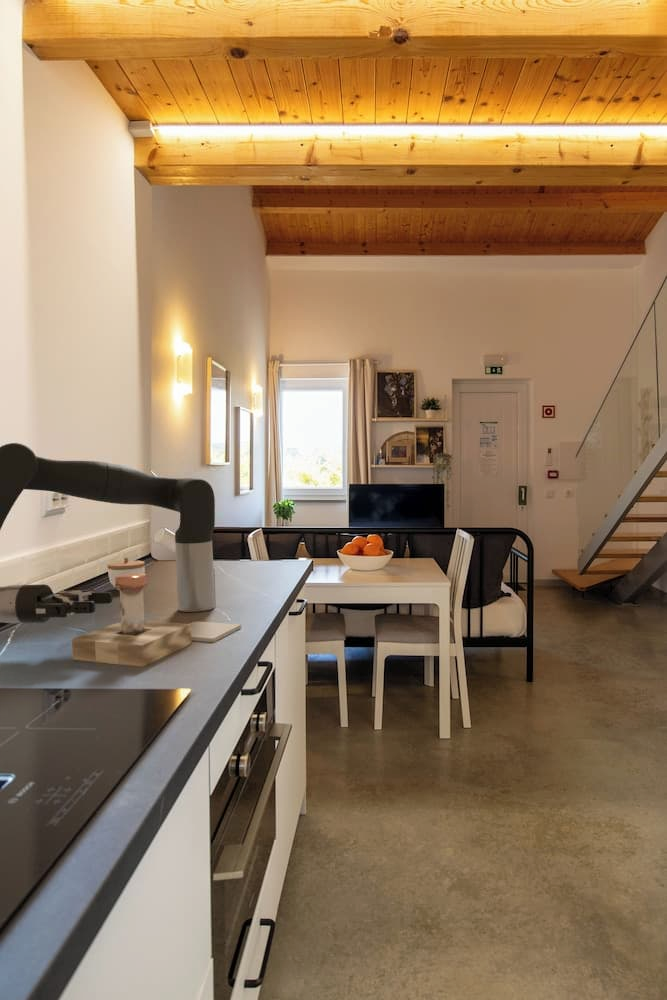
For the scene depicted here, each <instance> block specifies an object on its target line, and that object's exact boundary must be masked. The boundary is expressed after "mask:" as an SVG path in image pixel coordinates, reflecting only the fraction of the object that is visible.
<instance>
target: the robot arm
mask: <svg viewBox="0 0 667 1000" xmlns="http://www.w3.org/2000/svg"><path fill="white" fill-rule="evenodd" d="M24 490H30V491H32V490H33V491H45V492H50V493H51V492H52V493H56V494H57V493H58V494H62V495H66V496H69V497H75V498H81V499H85V500H91V501H93V502H94V501H96V502H103V503H109V504H117V505H145V506H146V505H149V506H154V507H160V508H162V509H166V510H170V511H174V512H177V513H179V526H178V528H177V529H176V531H175V533H174V544H175V546H174V547H175V548H174V549H175V568H176V570H175V571H176V592H177V593H176V594H177V596H176V597H177V610H178V611H180V612H185V613H194V612H195V613H196V612H197V613H199V612H204V611H209V610H212V609H214V608H215V607H216V605H217V600H216V573H215V571H216V570H215V568H214V555H213V554H214V552H213V533H214V531H215V526H216V525H215V524H216V511H215V509H216V506H215V505H216V504H215V503H216V501H215V492H214V490H213V487H212V485H211V484H210V483H209V482H208V481H206V480H205V479H203V478H198V477H197V478H196V477H192V478H191V477H184V478H177V477H161V476H155V475H151V474H148V473H147V472H146V473H145V472H143V471H140V470H138V469H134V468H132V467H130V466H129V467H128V466H126V465H125V466H124V465H121V464H116V463H111V462H105V461H104V462H103V461H96V460H57V459H50V458H46V457H41V456H37V455H36V453H35V452H34V451H33V449H31V448H30V447H29V446H27V445H25V444H22V443H18V442H11V443H6V444H4V445H1V446H0V531H1V530H2V528H3V525H4V523H5V521H6V519H7V516H8V515H9V513H10V511H11V510H12V508H13V506H14V505H15V504H16V501H17V500H18V499H19V497H20V495H21V494H22V493H23V491H24ZM95 591H96V590H95V589H92V588H91V589H78V590H77V589H76V590H75V589H73V590H70V589H68V590H65V591H64V590H63V591H58V592H57V593H54V592H53V589H52V588H51V587H50V586H49V585H48V584H46V583H45V584H11V585H5V586H0V623H5V624H35V623H36V624H37V623H38V624H40V623H47V622H48V621H49V620H50V619H51V618H67V617H68V616H74V615H76V614H77V615H78V614H94V613H95V612H96V604H97V605H98V604H101V605H102V604H103V605H104V604H107V605H108V604H111V603H112V602H113V593H112V592H111V591H106V592H105V591H104V592H103V591H101V592H95ZM85 596H87V598H85Z"/></svg>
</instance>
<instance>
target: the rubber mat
mask: <svg viewBox="0 0 667 1000" xmlns="http://www.w3.org/2000/svg"><path fill="white" fill-rule="evenodd" d="M189 624H191V642H206V643H215V642H216V641H219V640H221V639H222V638H225V637H227V636H229V635H230V634H233V633H234V632H237V631H238V629H239V630H240V629H242V624H237V623H223V622H213V621H212V622H210V621H198V620H197V621H196V620H194V621H192V622H190V623H189Z"/></svg>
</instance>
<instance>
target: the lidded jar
mask: <svg viewBox="0 0 667 1000" xmlns="http://www.w3.org/2000/svg"><path fill="white" fill-rule="evenodd" d="M123 559H124V560H121V561H115V562H110V563H108V564H107V571H108V572H107V573H108V578H109V582H110V583H111V585H112V586H113V587H114V588H115V577H116V576H120V575H126V574H146V573H145V570H146V569H145V568H146V567H145V565H146V562H145V561H143V560H129V558H128V557H124V558H123ZM116 590H117V591H120V589H116Z"/></svg>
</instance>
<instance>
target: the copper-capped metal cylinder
mask: <svg viewBox="0 0 667 1000" xmlns="http://www.w3.org/2000/svg"><path fill="white" fill-rule="evenodd" d="M146 587H148V575H147V574H146V573H144V574H126V575H120V576H116V577H115V587H114V588H115V589H116V590H117V589H120V590H119V601H120V622H121V627H122V635H134V636H137V635H139V634H142V633H144V632H145V621H146V620H145V602H144V601H145V599H144V588H146Z"/></svg>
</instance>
